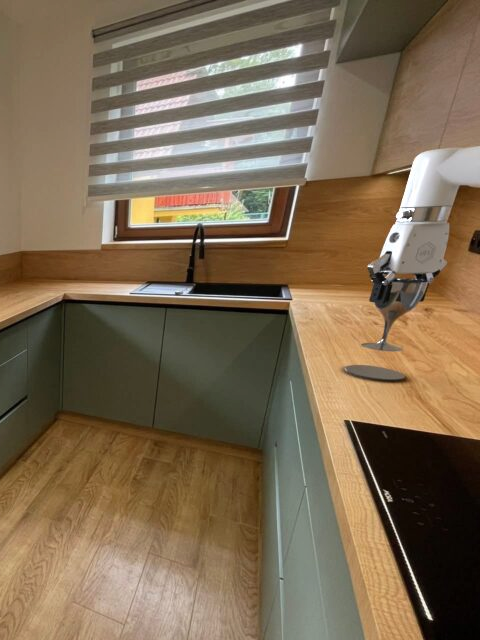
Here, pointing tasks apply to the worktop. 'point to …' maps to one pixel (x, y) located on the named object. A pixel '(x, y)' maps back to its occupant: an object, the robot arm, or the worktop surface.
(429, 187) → the robot arm
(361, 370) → the coaster
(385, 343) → the wine glass
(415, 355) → the worktop surface
